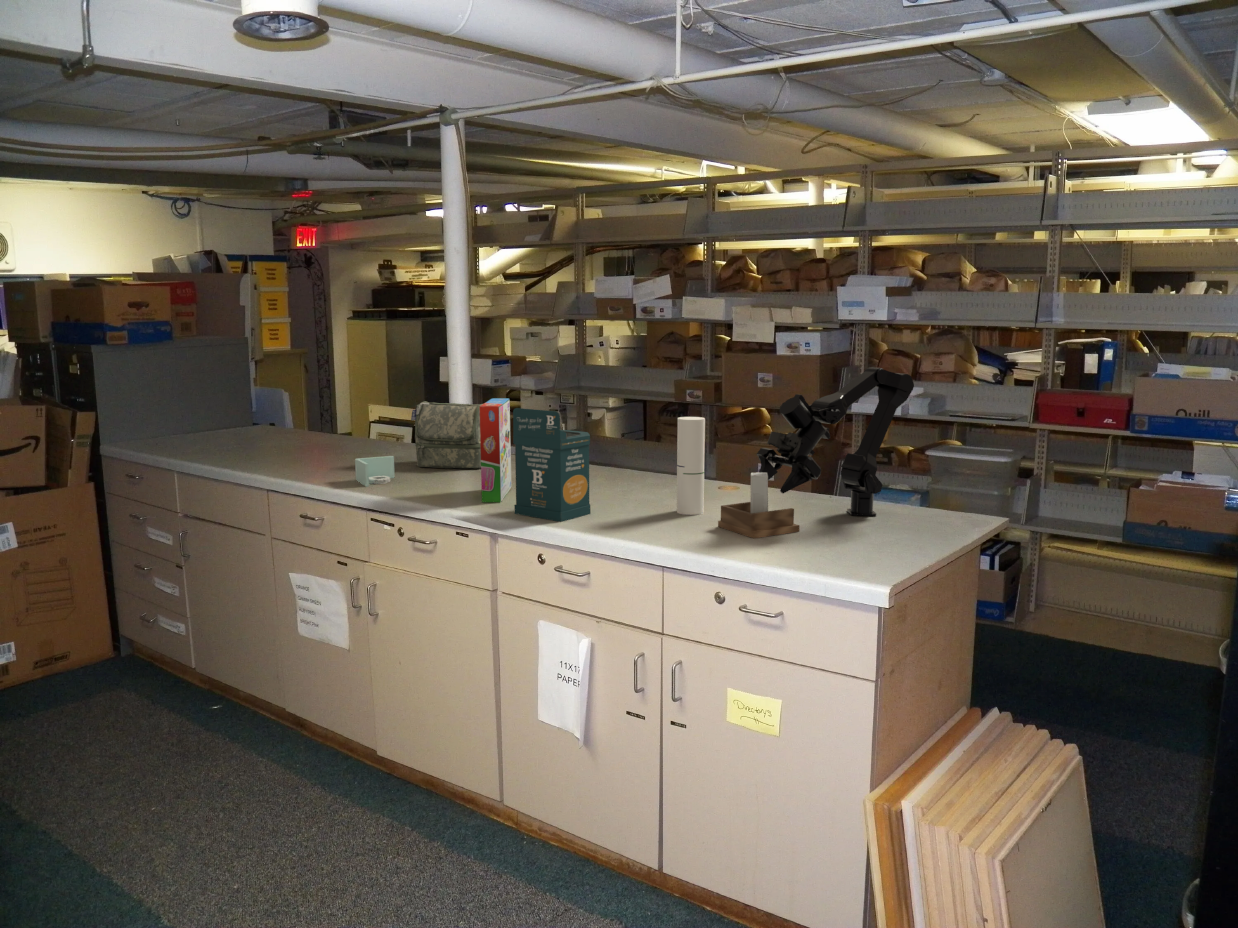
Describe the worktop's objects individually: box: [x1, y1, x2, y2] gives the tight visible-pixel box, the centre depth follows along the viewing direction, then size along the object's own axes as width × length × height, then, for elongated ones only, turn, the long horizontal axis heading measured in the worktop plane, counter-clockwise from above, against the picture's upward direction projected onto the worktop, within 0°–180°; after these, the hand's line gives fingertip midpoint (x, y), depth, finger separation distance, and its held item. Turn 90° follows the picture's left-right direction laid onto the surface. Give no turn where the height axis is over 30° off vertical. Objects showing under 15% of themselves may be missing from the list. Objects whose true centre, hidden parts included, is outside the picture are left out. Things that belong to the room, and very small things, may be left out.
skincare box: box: [750, 472, 769, 513], centre depth 230 cm, size 6×4×12 cm
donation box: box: [512, 407, 591, 523], centre depth 247 cm, size 16×16×28 cm
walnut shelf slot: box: [717, 501, 801, 539], centre depth 230 cm, size 14×14×6 cm
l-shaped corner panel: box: [354, 455, 395, 488], centre depth 293 cm, size 12×12×8 cm
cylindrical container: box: [676, 416, 706, 516], centre depth 248 cm, size 7×7×25 cm
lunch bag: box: [410, 400, 484, 470], centre depth 323 cm, size 26×18×22 cm
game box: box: [480, 397, 512, 504], centre depth 270 cm, size 21×6×27 cm, turn 178°
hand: (769, 489), depth 231 cm, fingers open, 9 cm apart
